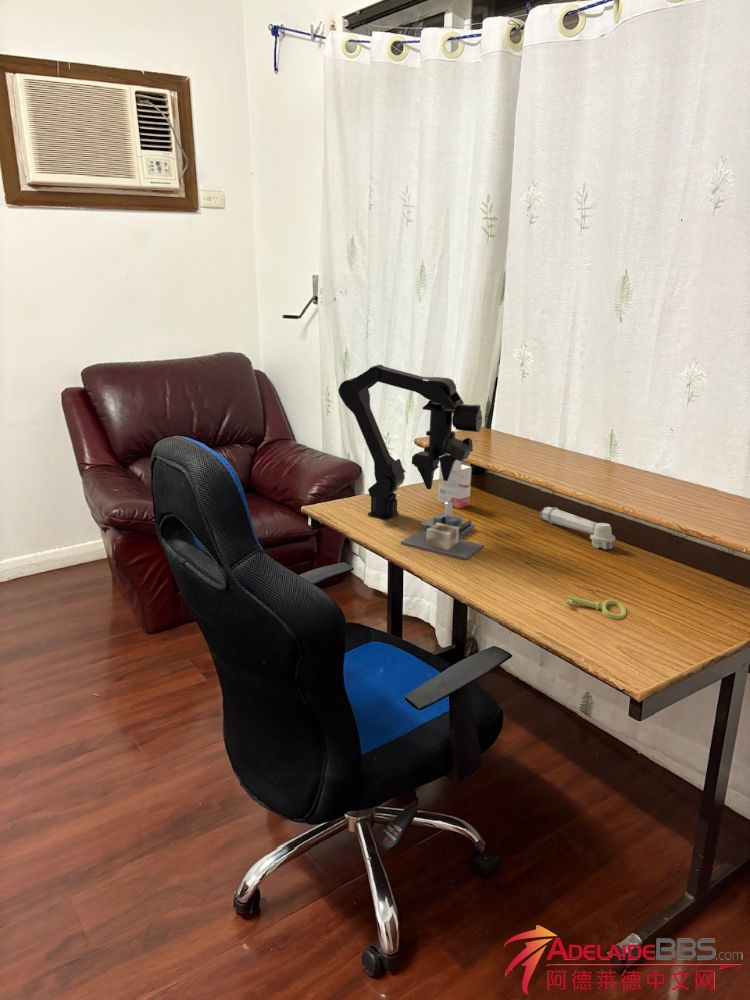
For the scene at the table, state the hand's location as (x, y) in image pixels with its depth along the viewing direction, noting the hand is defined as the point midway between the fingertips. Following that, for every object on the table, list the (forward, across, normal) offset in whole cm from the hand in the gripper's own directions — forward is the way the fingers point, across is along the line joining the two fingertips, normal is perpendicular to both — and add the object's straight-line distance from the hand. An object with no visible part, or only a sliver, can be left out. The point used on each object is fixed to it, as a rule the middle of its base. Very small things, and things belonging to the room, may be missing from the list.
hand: (437, 484), depth 194 cm
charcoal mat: (+11, -13, -9) cm, 19 cm away
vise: (+11, -2, -5) cm, 12 cm away
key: (+11, -24, -52) cm, 58 cm away
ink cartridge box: (+11, +18, +4) cm, 21 cm away
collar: (+10, -13, -9) cm, 19 cm away
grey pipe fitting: (+11, +15, -34) cm, 39 cm away
